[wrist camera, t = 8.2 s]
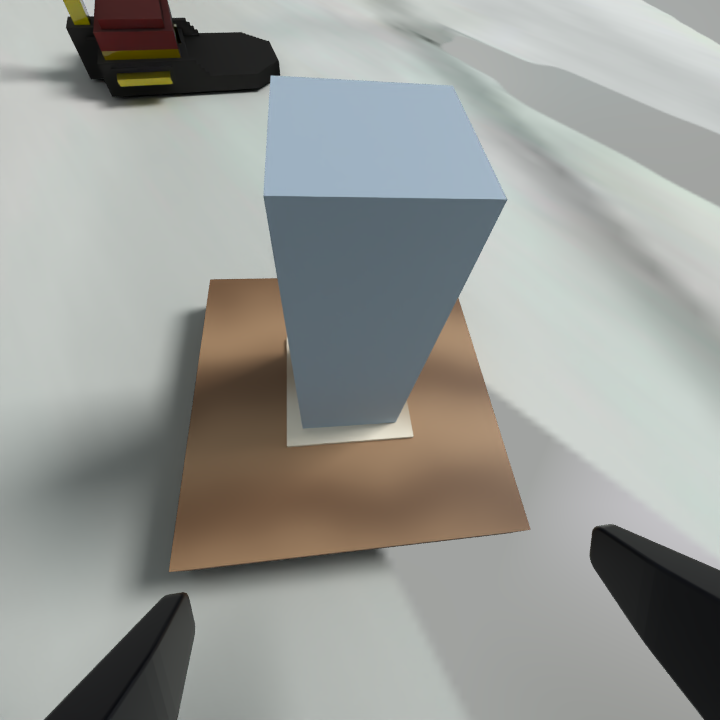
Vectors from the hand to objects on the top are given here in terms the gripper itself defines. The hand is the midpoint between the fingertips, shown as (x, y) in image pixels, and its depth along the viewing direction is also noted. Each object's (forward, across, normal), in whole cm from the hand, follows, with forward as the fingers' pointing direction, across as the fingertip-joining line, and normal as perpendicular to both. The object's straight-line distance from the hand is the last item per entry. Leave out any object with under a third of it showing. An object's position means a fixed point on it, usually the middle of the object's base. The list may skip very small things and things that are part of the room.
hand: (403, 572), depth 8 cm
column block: (+12, 0, -1) cm, 12 cm away
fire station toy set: (+44, +13, -30) cm, 55 cm away
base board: (+14, 0, +1) cm, 14 cm away
